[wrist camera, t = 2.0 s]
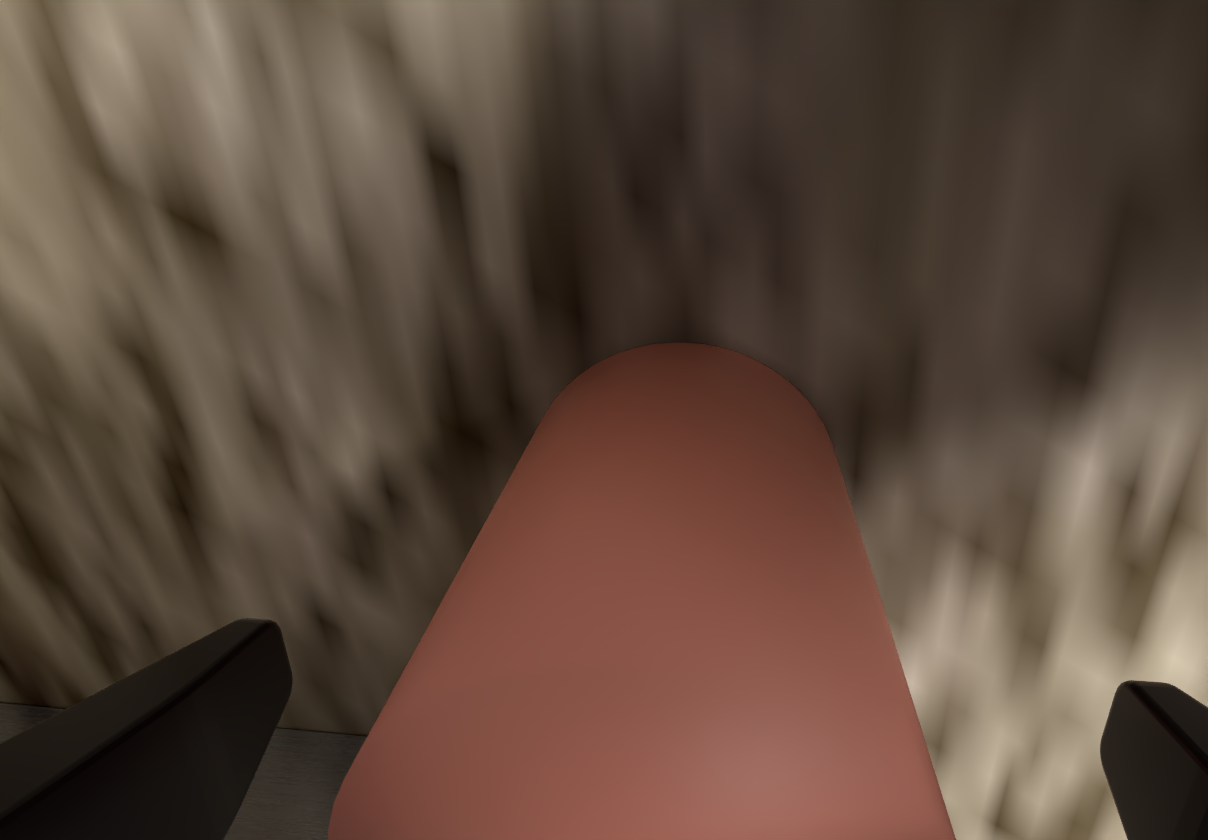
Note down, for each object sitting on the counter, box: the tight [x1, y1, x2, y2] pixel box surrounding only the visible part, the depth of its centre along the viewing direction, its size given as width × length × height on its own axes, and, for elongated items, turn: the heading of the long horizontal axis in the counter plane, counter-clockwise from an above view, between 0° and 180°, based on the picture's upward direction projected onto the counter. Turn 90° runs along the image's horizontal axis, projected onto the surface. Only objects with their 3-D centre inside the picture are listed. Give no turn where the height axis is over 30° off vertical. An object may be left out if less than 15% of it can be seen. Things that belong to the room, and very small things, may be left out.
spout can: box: [328, 342, 956, 840], centre depth 8 cm, size 5×5×9 cm
